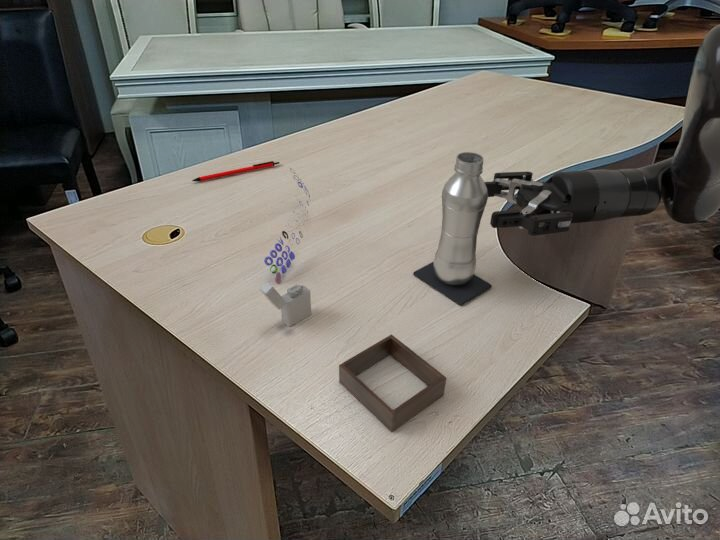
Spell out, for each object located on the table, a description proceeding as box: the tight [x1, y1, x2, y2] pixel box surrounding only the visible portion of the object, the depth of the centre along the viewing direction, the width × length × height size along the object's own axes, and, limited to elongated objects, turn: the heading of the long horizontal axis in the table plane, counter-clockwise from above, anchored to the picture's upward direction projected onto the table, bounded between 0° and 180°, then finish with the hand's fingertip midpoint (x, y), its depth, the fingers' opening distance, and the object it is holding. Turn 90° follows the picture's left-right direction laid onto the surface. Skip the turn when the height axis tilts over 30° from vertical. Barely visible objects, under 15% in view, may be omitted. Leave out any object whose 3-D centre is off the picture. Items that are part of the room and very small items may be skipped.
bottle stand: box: [338, 334, 447, 433], centre depth 64 cm, size 10×9×3 cm
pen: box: [191, 160, 280, 182], centre depth 111 cm, size 1×19×1 cm, turn 119°
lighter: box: [258, 281, 312, 328], centre depth 72 cm, size 7×2×8 cm, turn 133°
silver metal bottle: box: [433, 151, 489, 285], centre depth 76 cm, size 6×7×20 cm
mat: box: [412, 261, 493, 307], centre depth 82 cm, size 10×7×1 cm
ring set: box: [263, 167, 336, 283], centre depth 88 cm, size 25×12×12 cm, turn 169°
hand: (480, 204), depth 75 cm, fingers open, 8 cm apart
